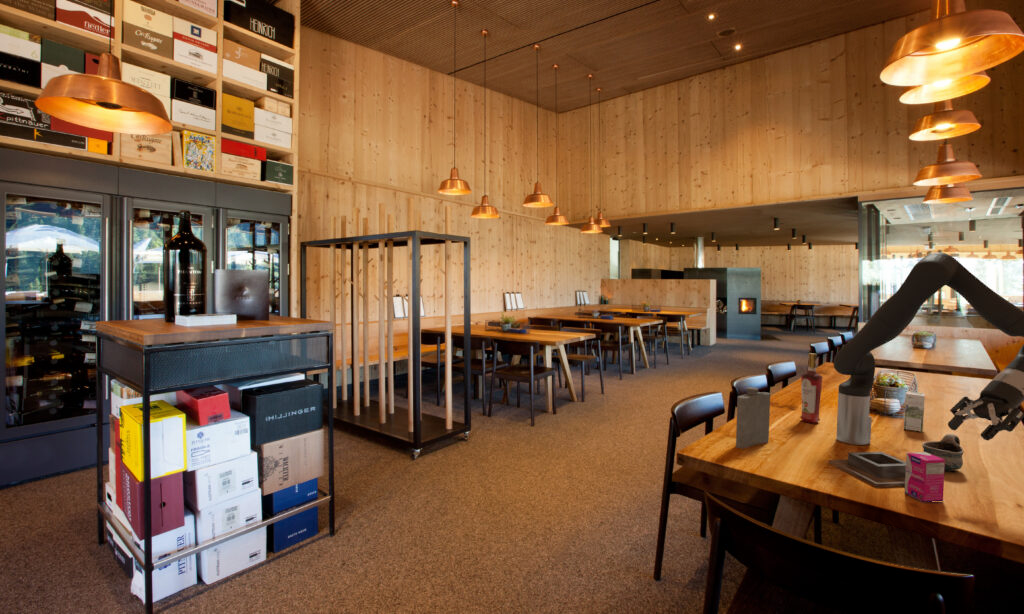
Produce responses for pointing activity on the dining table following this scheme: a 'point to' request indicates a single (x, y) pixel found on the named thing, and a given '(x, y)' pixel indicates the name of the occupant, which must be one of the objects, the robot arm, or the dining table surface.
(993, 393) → the robot arm
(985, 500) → the dining table surface
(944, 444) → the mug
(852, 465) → the socket
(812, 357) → the liquor
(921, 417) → the syrup box
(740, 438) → the hip flask
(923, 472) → the supplement box
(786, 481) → the dining table surface
